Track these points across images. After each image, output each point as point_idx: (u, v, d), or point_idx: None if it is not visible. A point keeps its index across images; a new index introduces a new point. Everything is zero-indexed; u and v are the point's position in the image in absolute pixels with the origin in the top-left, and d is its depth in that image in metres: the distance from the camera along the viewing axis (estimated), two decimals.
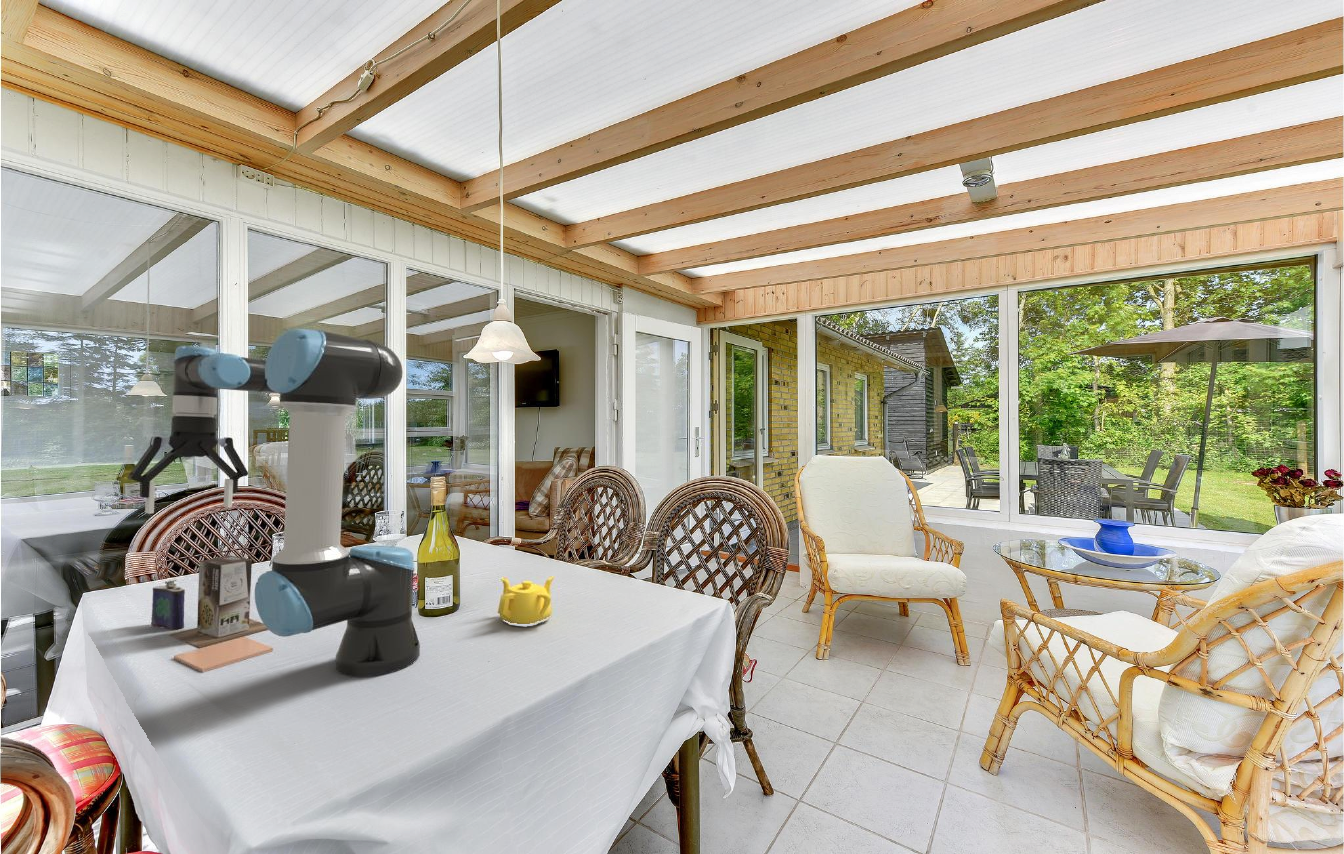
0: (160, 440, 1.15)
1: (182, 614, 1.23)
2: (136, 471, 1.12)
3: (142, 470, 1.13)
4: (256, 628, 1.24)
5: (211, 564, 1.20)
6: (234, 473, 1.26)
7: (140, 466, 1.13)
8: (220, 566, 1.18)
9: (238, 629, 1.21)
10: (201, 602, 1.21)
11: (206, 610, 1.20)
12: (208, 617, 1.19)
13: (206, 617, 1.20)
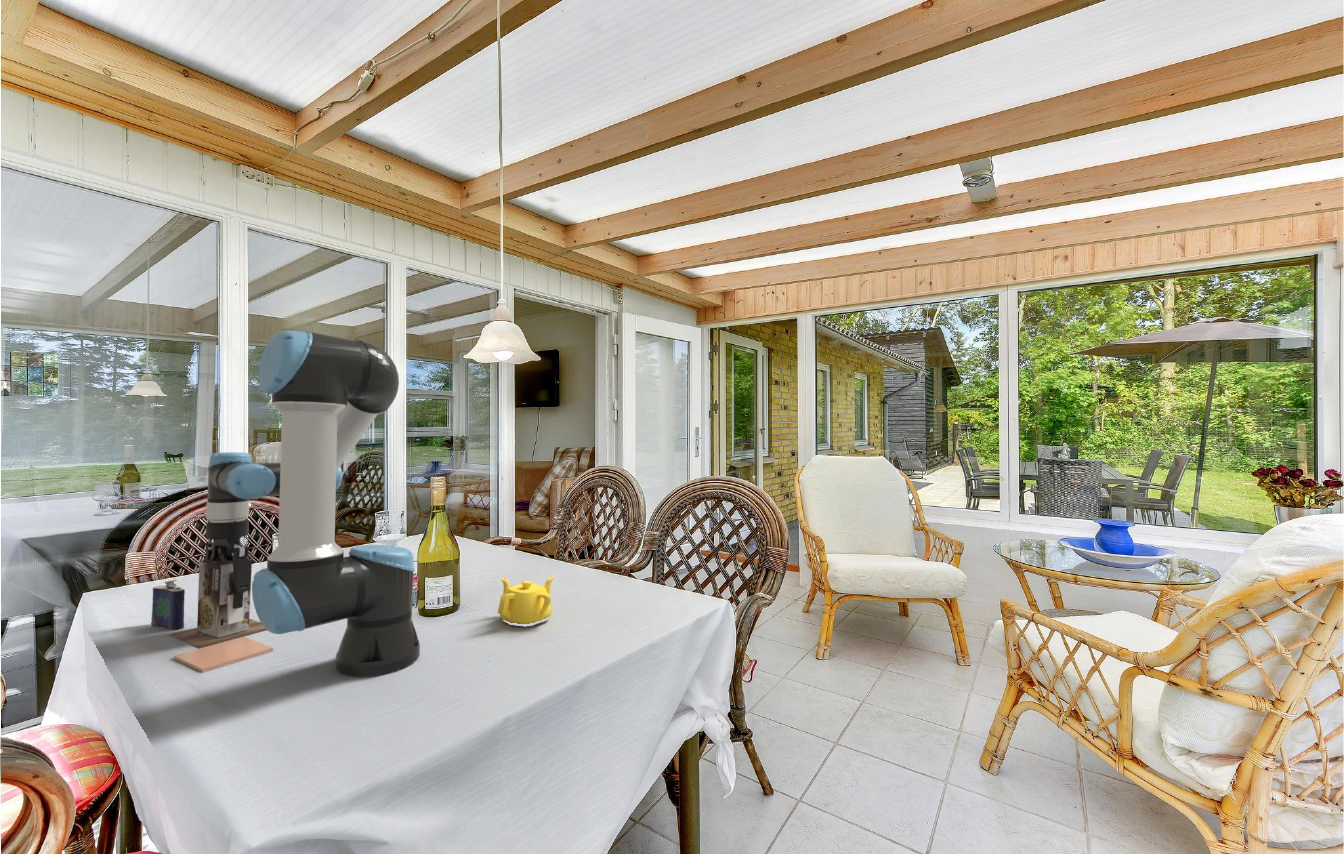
0: (207, 544, 1.24)
1: (182, 614, 1.23)
2: None
3: None
4: (256, 628, 1.24)
5: (211, 564, 1.20)
6: (231, 588, 1.19)
7: None
8: (220, 566, 1.18)
9: (238, 629, 1.21)
10: (201, 602, 1.21)
11: (206, 610, 1.20)
12: (208, 617, 1.19)
13: (206, 616, 1.20)
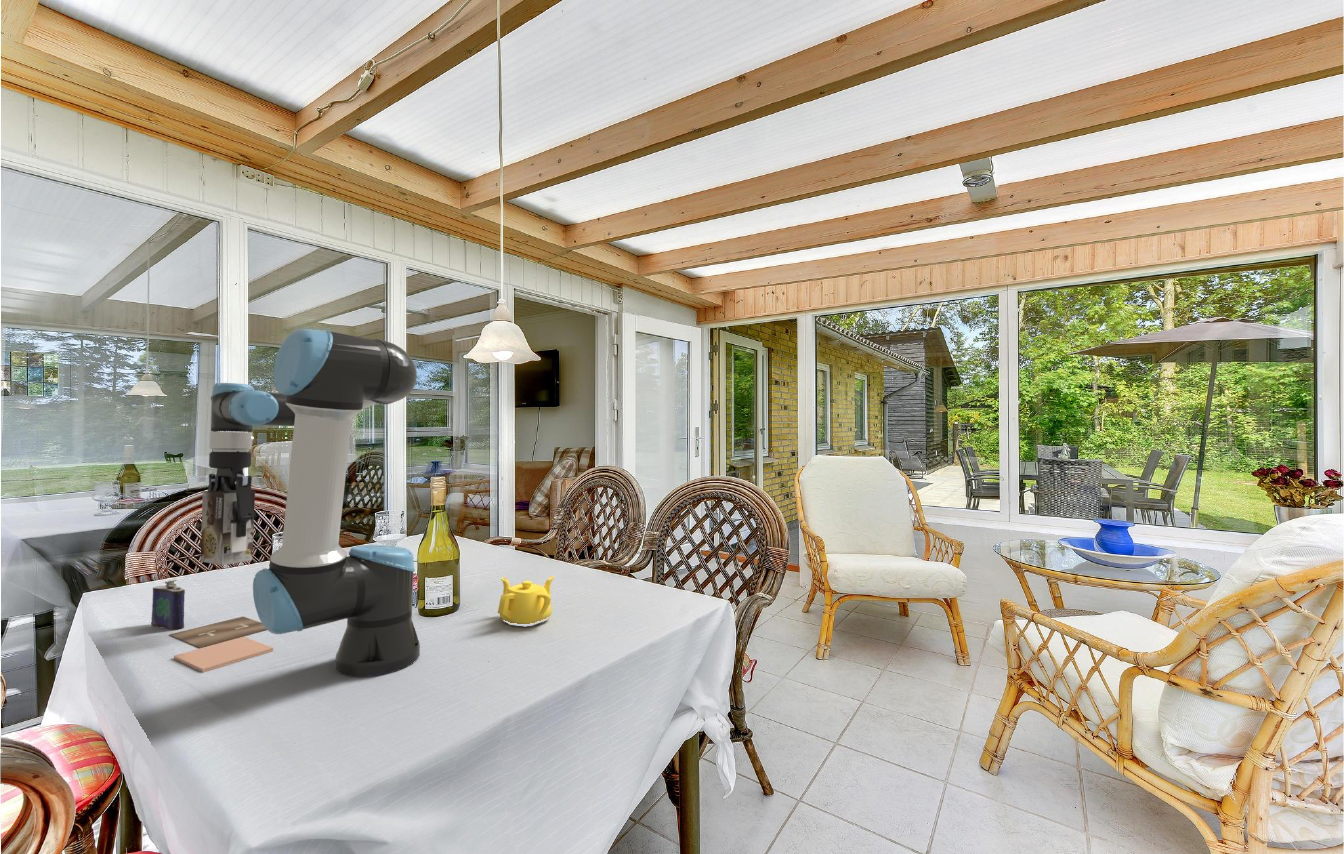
0: (210, 476, 1.25)
1: (182, 614, 1.23)
2: None
3: None
4: (256, 628, 1.24)
5: (214, 493, 1.20)
6: (235, 516, 1.19)
7: None
8: (223, 494, 1.18)
9: (241, 559, 1.21)
10: (204, 532, 1.21)
11: (210, 539, 1.20)
12: (212, 546, 1.19)
13: (209, 546, 1.20)
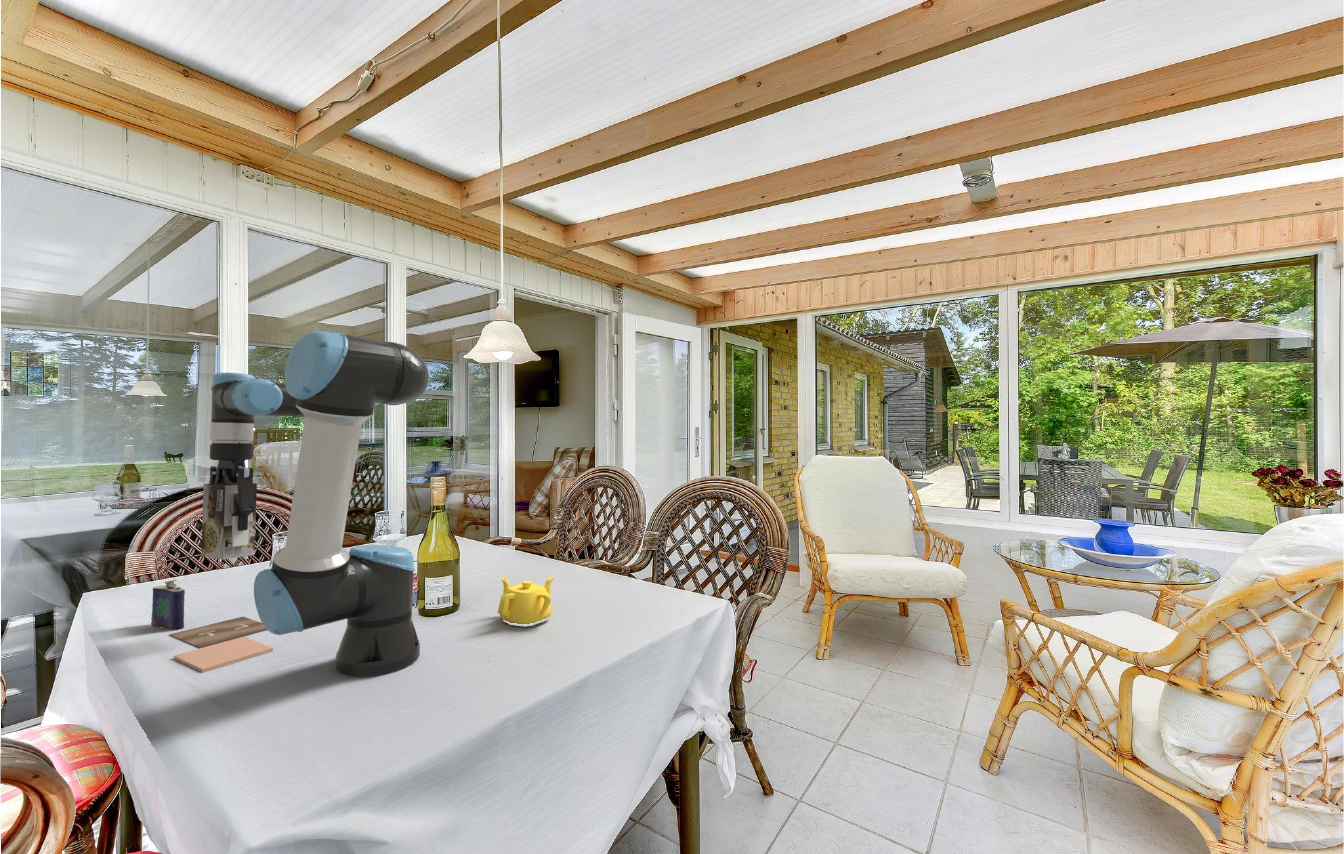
0: (211, 469, 1.22)
1: (182, 614, 1.23)
2: None
3: None
4: (256, 628, 1.24)
5: (215, 485, 1.17)
6: (236, 509, 1.16)
7: None
8: (224, 486, 1.15)
9: (243, 553, 1.18)
10: (205, 525, 1.18)
11: (211, 533, 1.17)
12: (213, 540, 1.16)
13: (210, 539, 1.17)
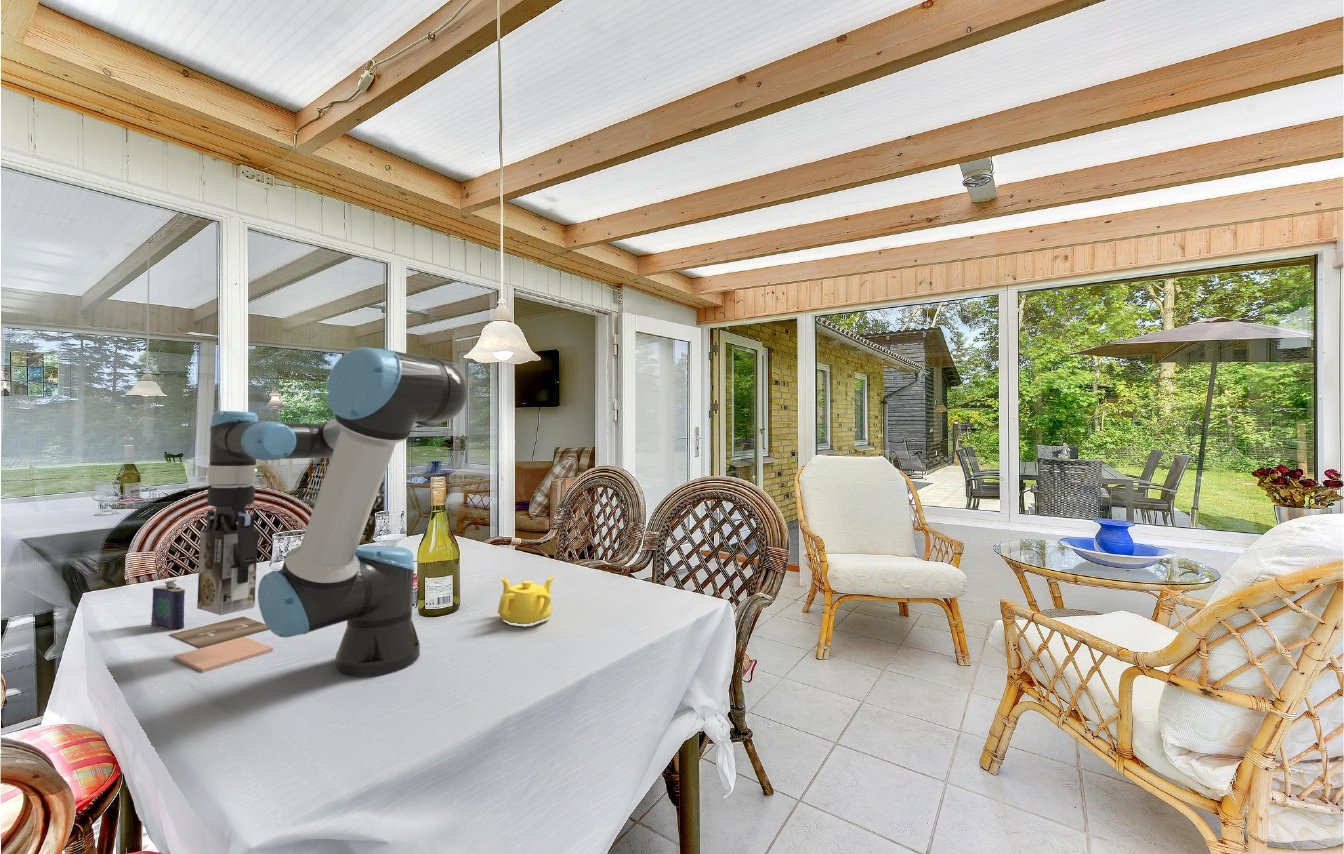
0: (209, 513, 1.12)
1: (182, 614, 1.23)
2: None
3: None
4: (256, 628, 1.24)
5: (213, 534, 1.07)
6: (236, 560, 1.07)
7: None
8: (223, 536, 1.06)
9: (243, 606, 1.09)
10: (202, 576, 1.09)
11: (207, 585, 1.08)
12: (210, 593, 1.07)
13: (207, 592, 1.08)
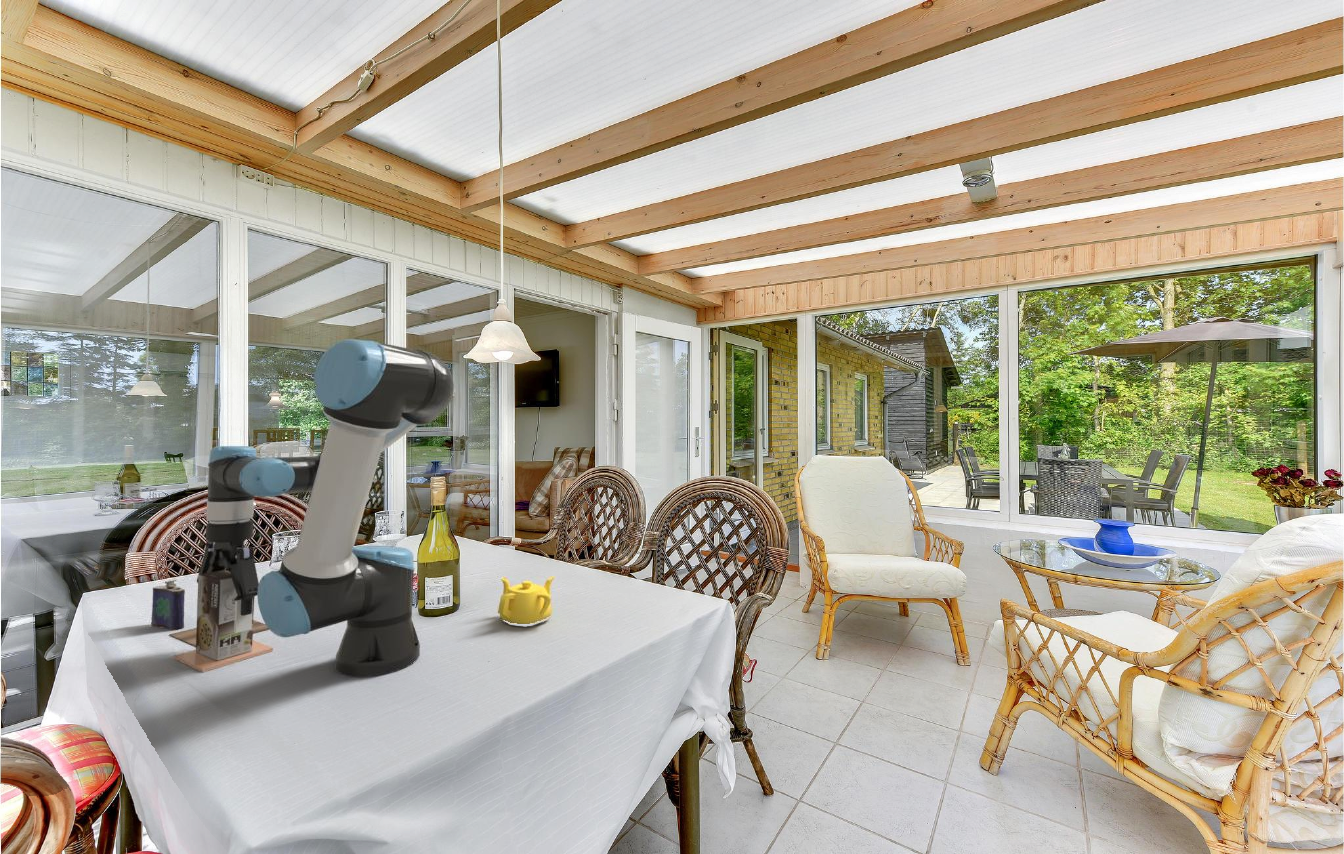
0: (208, 545, 1.12)
1: (182, 614, 1.23)
2: (198, 574, 1.14)
3: None
4: (256, 628, 1.24)
5: (210, 578, 1.07)
6: (239, 592, 1.06)
7: (200, 570, 1.13)
8: (219, 581, 1.06)
9: (240, 651, 1.09)
10: (200, 620, 1.09)
11: (205, 630, 1.07)
12: (207, 638, 1.07)
13: (205, 637, 1.07)
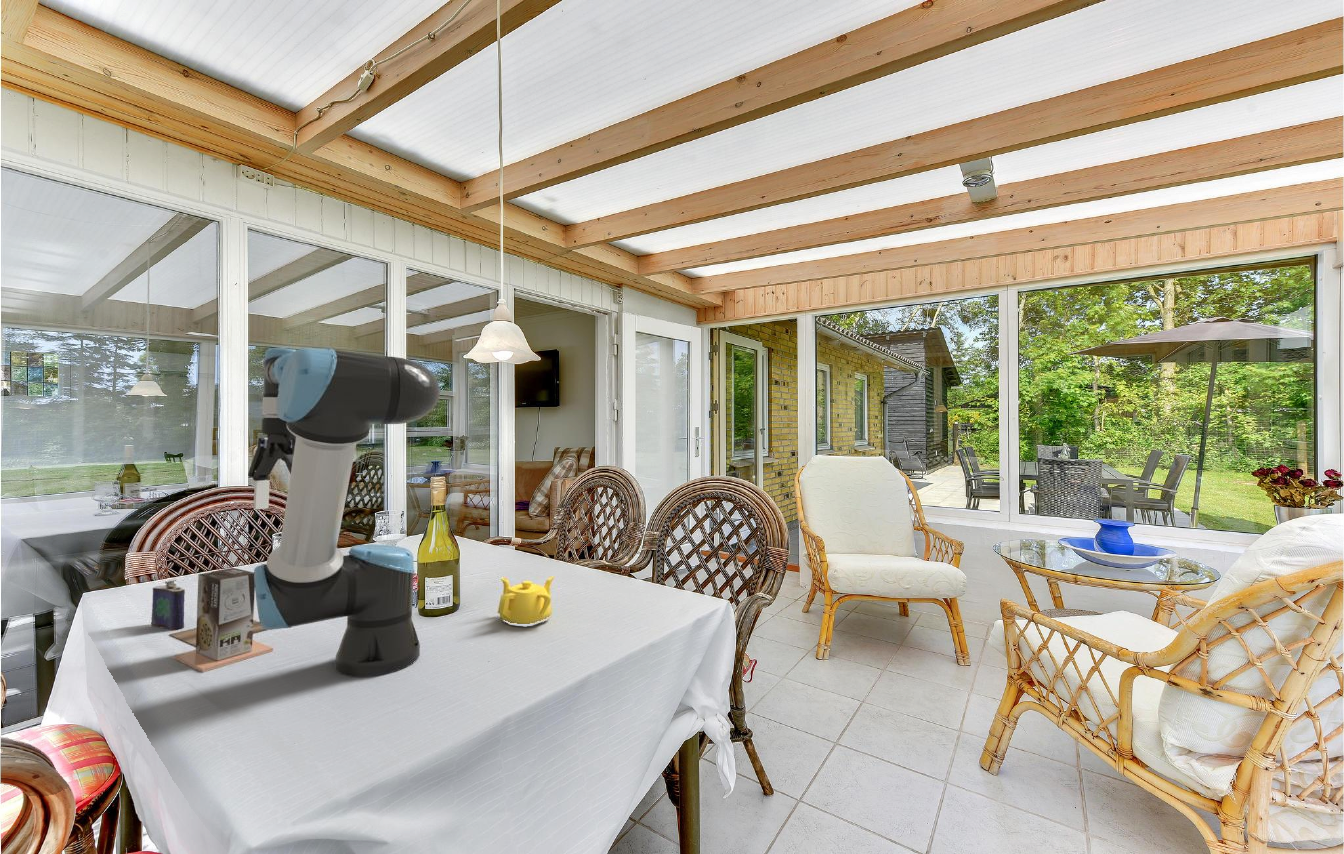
0: (260, 440, 1.23)
1: (182, 614, 1.23)
2: (250, 469, 1.24)
3: (252, 468, 1.24)
4: (256, 628, 1.24)
5: (210, 578, 1.07)
6: None
7: (251, 464, 1.24)
8: (219, 581, 1.06)
9: (240, 651, 1.09)
10: (200, 620, 1.09)
11: (205, 630, 1.07)
12: (207, 638, 1.07)
13: (205, 637, 1.07)
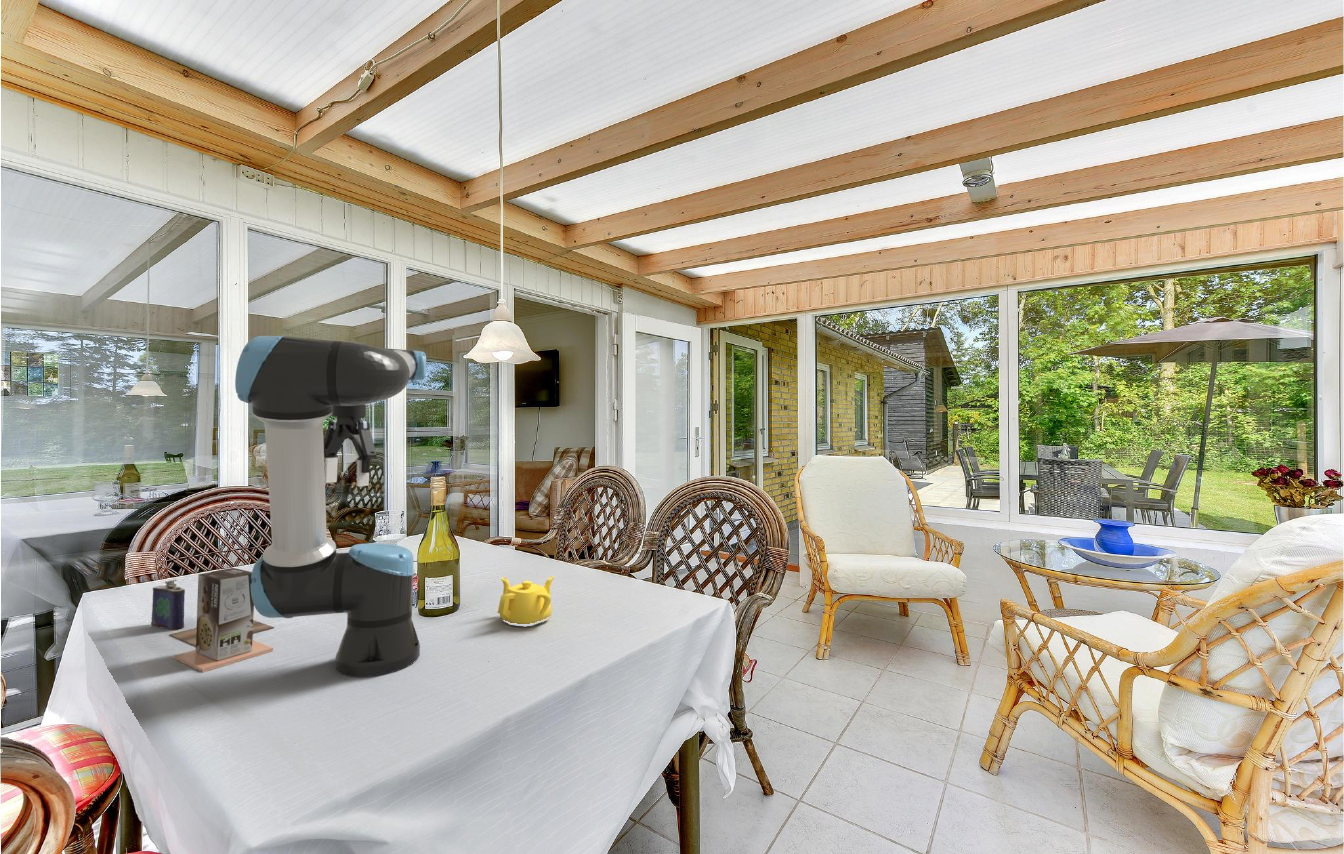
0: (330, 423, 1.41)
1: (182, 614, 1.23)
2: None
3: (323, 447, 1.42)
4: (256, 628, 1.24)
5: (210, 578, 1.07)
6: (360, 454, 1.34)
7: None
8: (219, 581, 1.06)
9: (240, 651, 1.09)
10: (200, 620, 1.09)
11: (205, 630, 1.07)
12: (207, 638, 1.07)
13: (205, 637, 1.07)
